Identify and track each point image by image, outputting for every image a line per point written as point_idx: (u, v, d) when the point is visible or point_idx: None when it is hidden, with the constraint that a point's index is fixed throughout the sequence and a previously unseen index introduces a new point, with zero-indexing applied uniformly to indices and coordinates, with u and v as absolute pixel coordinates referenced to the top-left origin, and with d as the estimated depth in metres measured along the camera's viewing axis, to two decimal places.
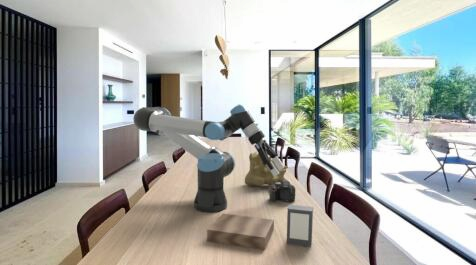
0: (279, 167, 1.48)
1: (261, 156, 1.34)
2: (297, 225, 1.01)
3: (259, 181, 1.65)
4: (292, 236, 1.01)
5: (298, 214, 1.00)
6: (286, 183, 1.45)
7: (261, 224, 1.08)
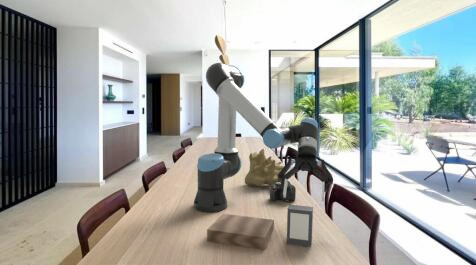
0: None
1: None
2: (297, 225, 1.01)
3: (259, 181, 1.65)
4: (292, 236, 1.01)
5: (298, 214, 1.00)
6: None
7: (261, 224, 1.08)
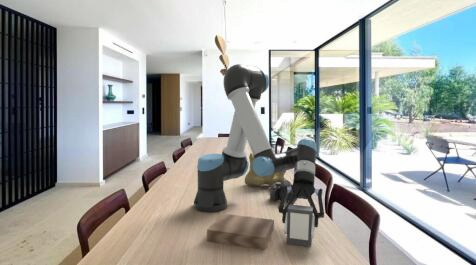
0: None
1: None
2: (297, 225, 1.01)
3: (259, 181, 1.65)
4: (292, 236, 1.01)
5: (298, 214, 1.00)
6: (286, 183, 1.46)
7: (261, 224, 1.08)
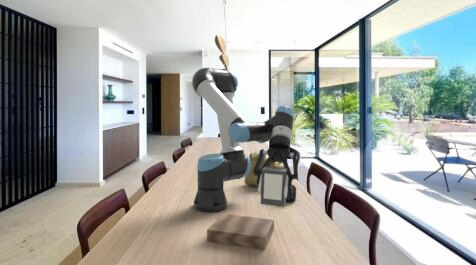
0: None
1: None
2: (271, 185, 1.02)
3: None
4: (266, 197, 1.03)
5: (272, 174, 1.02)
6: None
7: (261, 224, 1.08)
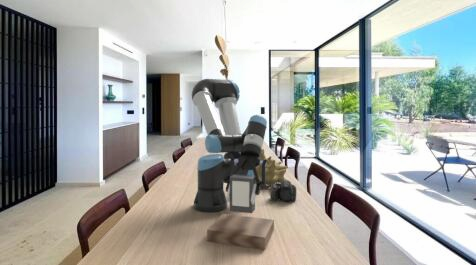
0: None
1: None
2: (238, 192, 1.04)
3: None
4: (234, 204, 1.05)
5: (239, 182, 1.04)
6: (287, 183, 1.46)
7: (261, 224, 1.08)
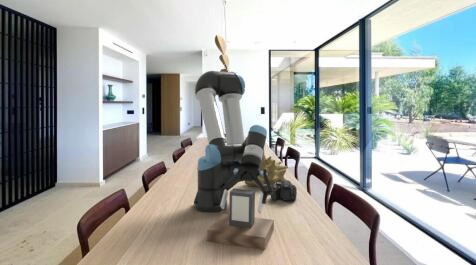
0: None
1: None
2: (238, 207, 1.05)
3: None
4: (234, 218, 1.06)
5: (239, 197, 1.05)
6: (287, 183, 1.46)
7: (261, 224, 1.08)
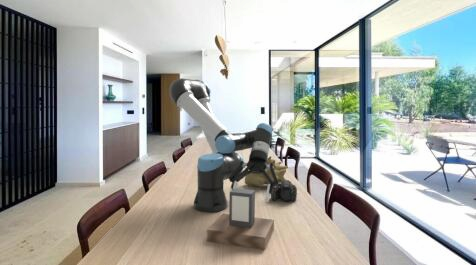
0: None
1: None
2: (238, 207, 1.05)
3: (259, 181, 1.65)
4: (234, 218, 1.06)
5: (239, 197, 1.05)
6: (287, 183, 1.46)
7: (261, 224, 1.08)
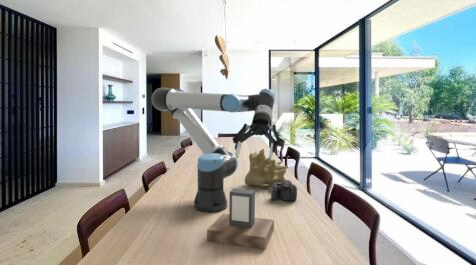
0: None
1: None
2: (238, 207, 1.05)
3: (259, 181, 1.65)
4: (234, 218, 1.06)
5: (239, 197, 1.05)
6: (287, 182, 1.46)
7: (261, 224, 1.08)
